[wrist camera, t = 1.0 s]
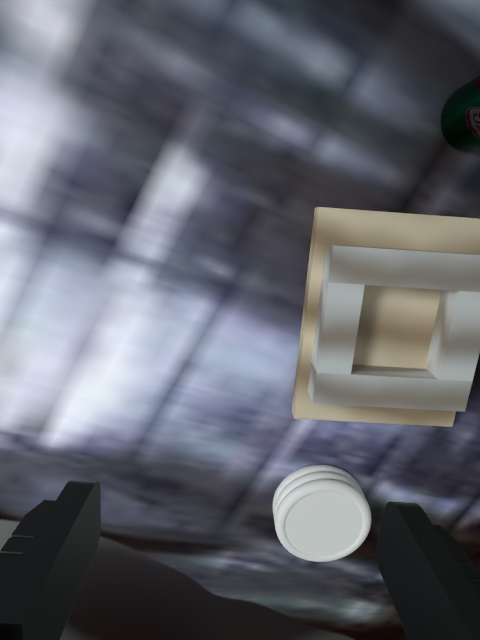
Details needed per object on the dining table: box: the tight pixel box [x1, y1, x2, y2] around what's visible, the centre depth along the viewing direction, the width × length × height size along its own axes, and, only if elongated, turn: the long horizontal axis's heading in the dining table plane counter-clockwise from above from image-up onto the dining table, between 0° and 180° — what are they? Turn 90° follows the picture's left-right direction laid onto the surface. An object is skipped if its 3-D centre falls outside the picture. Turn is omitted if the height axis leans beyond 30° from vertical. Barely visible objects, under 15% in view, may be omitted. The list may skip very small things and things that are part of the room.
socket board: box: [292, 207, 480, 427], centre depth 33 cm, size 20×16×4 cm
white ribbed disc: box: [273, 465, 371, 562], centre depth 38 cm, size 10×10×4 cm
